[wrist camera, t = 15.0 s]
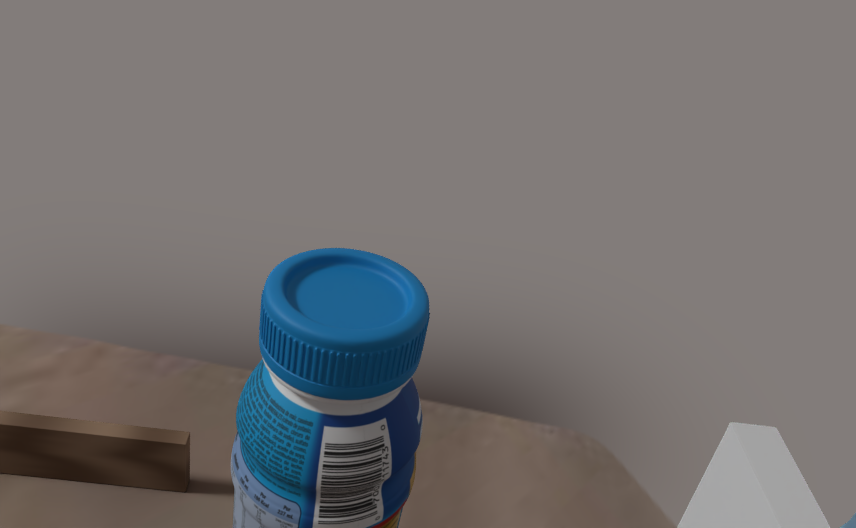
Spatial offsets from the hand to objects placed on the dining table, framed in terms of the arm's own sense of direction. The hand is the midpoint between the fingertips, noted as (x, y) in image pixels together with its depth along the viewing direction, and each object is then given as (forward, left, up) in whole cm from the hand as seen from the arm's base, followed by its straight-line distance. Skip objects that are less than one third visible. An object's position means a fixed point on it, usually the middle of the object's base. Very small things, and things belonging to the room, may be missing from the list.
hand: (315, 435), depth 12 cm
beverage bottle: (0, -16, -28) cm, 33 cm away
